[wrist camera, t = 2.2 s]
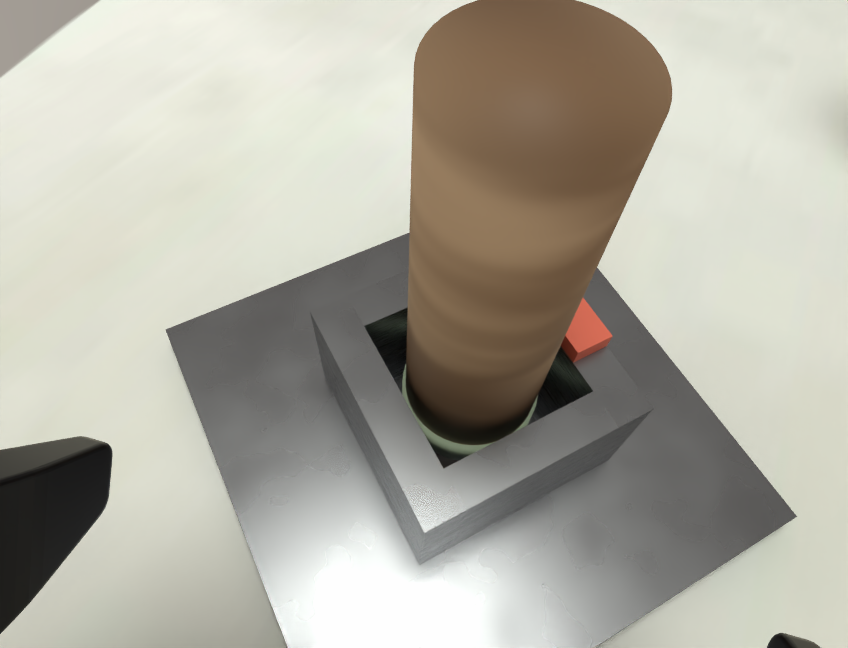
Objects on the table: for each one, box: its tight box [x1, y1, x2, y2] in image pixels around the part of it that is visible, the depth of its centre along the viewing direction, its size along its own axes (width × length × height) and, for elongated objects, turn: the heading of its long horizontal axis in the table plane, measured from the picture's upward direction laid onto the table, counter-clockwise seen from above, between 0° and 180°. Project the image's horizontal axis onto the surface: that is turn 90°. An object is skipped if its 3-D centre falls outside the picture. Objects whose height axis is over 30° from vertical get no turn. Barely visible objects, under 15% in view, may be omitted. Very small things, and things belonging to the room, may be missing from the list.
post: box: [402, 0, 672, 468], centre depth 16 cm, size 4×4×14 cm
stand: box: [166, 233, 797, 648], centre depth 20 cm, size 16×16×6 cm
